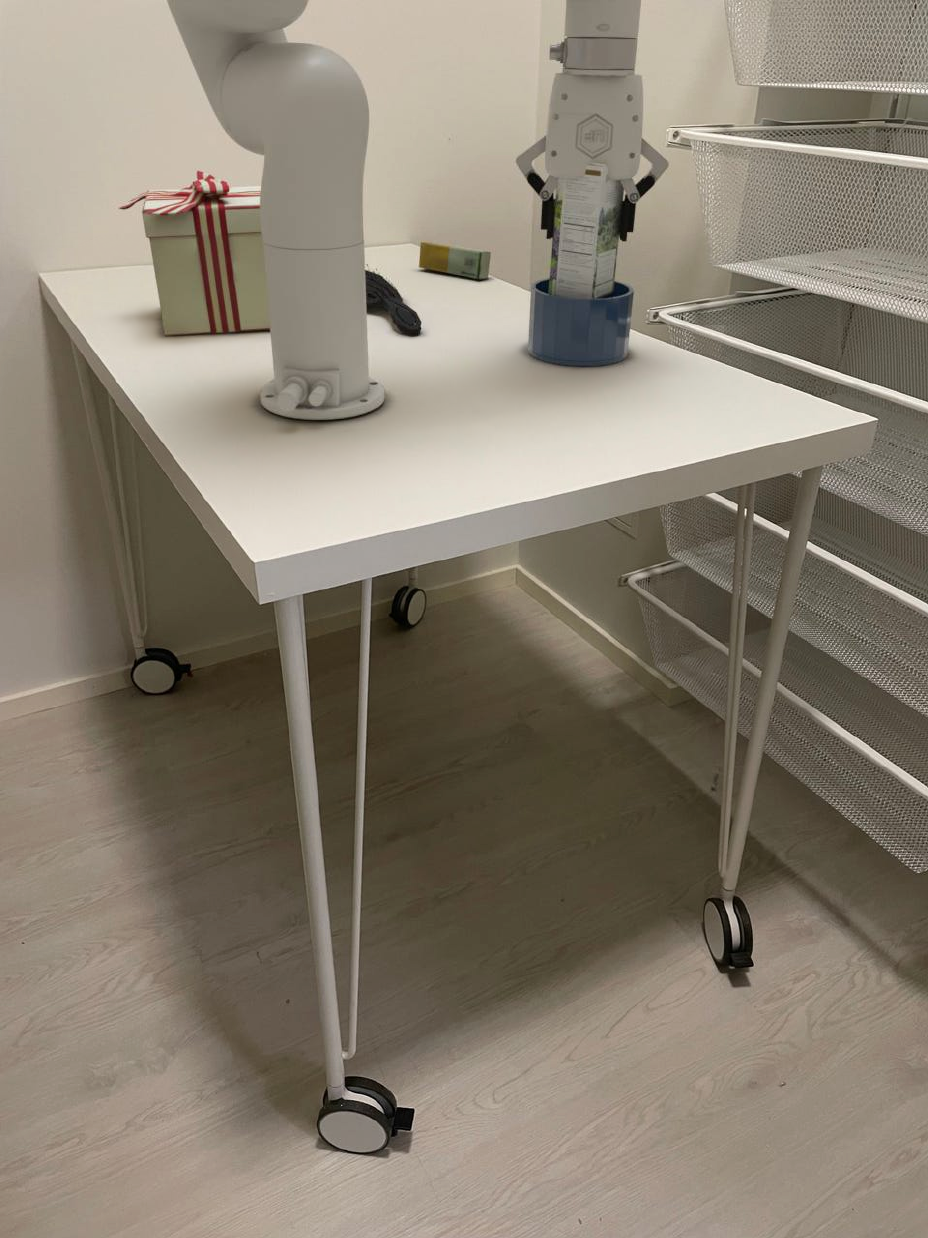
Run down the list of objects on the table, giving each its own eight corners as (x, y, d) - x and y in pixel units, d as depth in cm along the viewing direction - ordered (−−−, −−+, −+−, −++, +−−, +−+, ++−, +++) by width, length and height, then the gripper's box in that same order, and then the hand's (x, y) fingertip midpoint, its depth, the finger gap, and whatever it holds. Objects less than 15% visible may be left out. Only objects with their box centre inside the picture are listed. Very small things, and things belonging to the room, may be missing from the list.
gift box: (134, 310, 131) (112, 169, 122) (272, 301, 136) (261, 165, 127) (140, 344, 117) (115, 188, 108) (293, 333, 122) (282, 183, 113)
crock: (629, 368, 112) (636, 301, 108) (525, 363, 112) (529, 297, 109) (624, 340, 122) (631, 278, 118) (530, 336, 123) (533, 274, 119)
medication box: (489, 278, 151) (492, 251, 149) (479, 280, 149) (482, 252, 147) (427, 266, 156) (429, 239, 155) (417, 267, 154) (419, 240, 153)
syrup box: (570, 287, 117) (579, 154, 110) (615, 294, 114) (627, 158, 107) (547, 296, 113) (555, 158, 105) (593, 303, 110) (604, 162, 103)
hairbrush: (382, 315, 119) (328, 264, 138) (383, 345, 121) (329, 290, 140) (446, 310, 122) (384, 260, 141) (445, 339, 124) (384, 286, 143)
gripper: (513, 57, 99) (507, 241, 108) (687, 60, 97) (666, 246, 107) (517, 56, 105) (511, 229, 114) (681, 58, 104) (661, 234, 113)
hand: (586, 236), depth 110 cm, fingers closed on syrup box, 7 cm apart
